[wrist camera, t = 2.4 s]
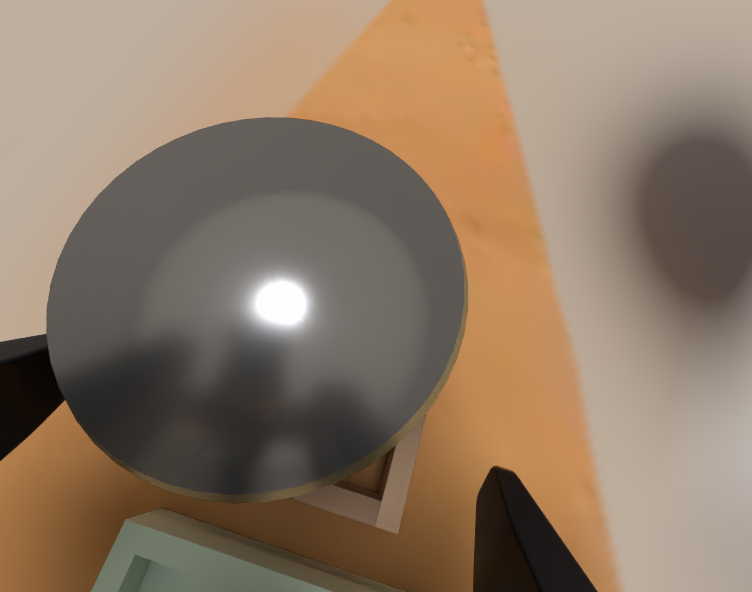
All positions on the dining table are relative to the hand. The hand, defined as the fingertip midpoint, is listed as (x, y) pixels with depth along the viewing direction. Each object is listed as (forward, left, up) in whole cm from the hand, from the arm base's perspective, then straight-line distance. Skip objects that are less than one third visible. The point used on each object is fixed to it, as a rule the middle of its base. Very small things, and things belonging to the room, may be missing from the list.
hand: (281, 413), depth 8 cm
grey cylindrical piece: (+1, 0, -9) cm, 9 cm away
